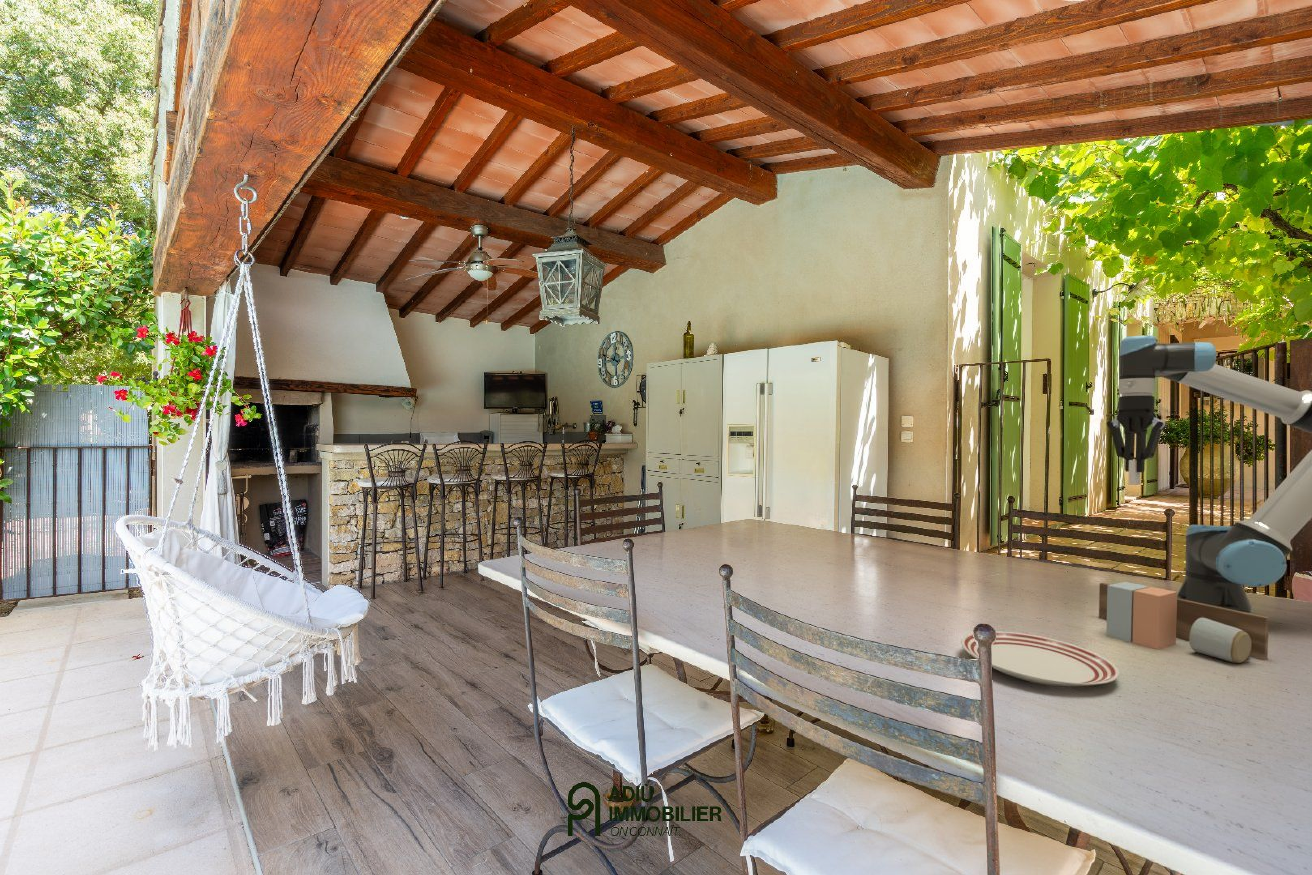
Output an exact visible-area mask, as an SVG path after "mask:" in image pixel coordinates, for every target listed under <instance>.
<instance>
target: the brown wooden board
mask: <svg viewBox="0 0 1312 875" xmlns="http://www.w3.org/2000/svg"><path fill="white" fill-rule="evenodd" d="M1108 585H1112V583H1111V584H1110V583H1106V582H1105V583H1104V582H1100V583H1099V597H1098V600H1099V601H1098V618H1099V619H1100V620H1101V619H1102V620H1106V621H1107V588H1108ZM1199 618H1206V619H1209V620H1213V621H1216V622H1219V623H1222V624H1225V625H1228V626H1232V627H1235V628H1238V629H1240V630H1243V631H1244V632H1246V633H1247V634H1248V635H1249V636H1250V638H1251V651H1250V654H1249V656H1248V657H1252V658H1256V659H1259V660H1262V661H1263V660H1264V661H1267V660H1268V658H1269V657H1268V652H1269V648H1268V647H1269V622H1270V621H1269V616H1264V615H1260V614H1256V613H1252V612H1251V613H1246V612H1241V611H1236V610H1231V609H1227V608H1222V607H1217V606H1212V605H1207V604H1203V603H1198V602H1193V601H1188V600H1183V599H1178V598H1177V620H1176V639H1180V640H1185V641H1188V642H1189V636H1190V630H1191V627H1192V625H1193V623H1194V622H1195V621H1196V620H1197V619H1199Z"/></svg>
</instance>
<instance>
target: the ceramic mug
mask: <svg viewBox="0 0 1312 875" xmlns="http://www.w3.org/2000/svg"><path fill="white" fill-rule="evenodd" d="M1188 642H1189V646H1190V648H1191V649H1192V650H1193V651H1194V652H1195V653H1198V654H1202V655H1206V656H1209V657H1213V658H1217V659H1220V660H1223V661H1226V662H1230V663H1235V664H1240V663H1243V662H1245V661H1246V660H1248V658H1249V657H1250V656H1249V654H1250V651H1251V638H1250V636H1249V635H1248V634H1247V633H1246V632H1244V631H1243V630H1240V629H1238V628H1235V627H1232V626H1228V625H1225V624H1222V623H1219V622H1216V621H1213V620H1209V619H1206V618H1199V619H1197V620H1196V621H1195V622H1194V623H1193V625H1192V627H1191V630H1190V636H1189V641H1188Z"/></svg>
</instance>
